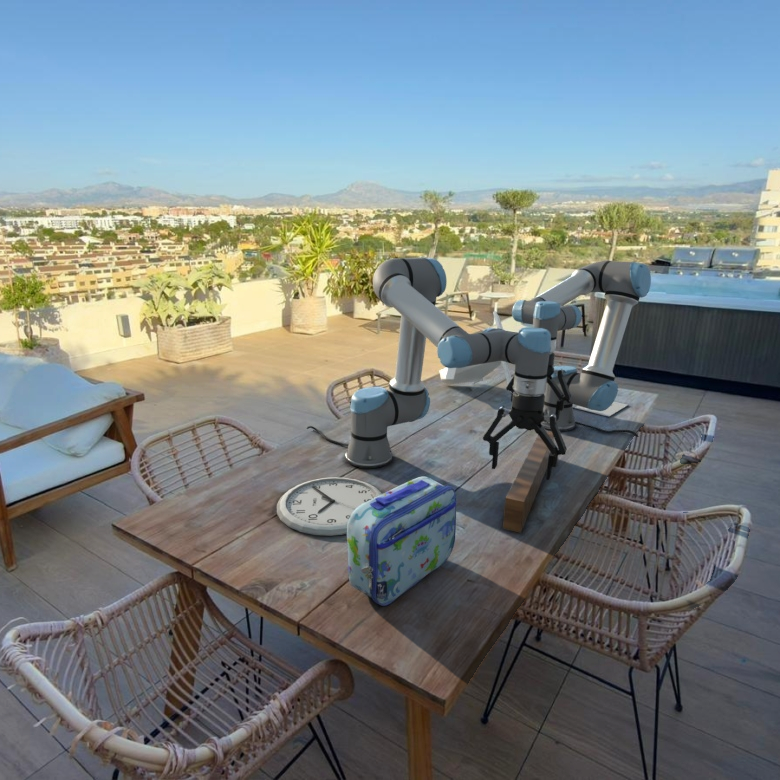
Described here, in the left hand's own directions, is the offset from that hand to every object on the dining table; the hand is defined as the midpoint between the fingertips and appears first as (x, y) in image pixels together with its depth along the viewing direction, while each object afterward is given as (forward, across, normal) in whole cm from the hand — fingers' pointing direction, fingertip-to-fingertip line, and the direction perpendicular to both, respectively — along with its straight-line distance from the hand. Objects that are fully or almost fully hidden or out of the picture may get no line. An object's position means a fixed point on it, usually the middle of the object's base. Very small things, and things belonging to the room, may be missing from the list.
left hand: (520, 472), depth 132 cm
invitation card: (+14, +14, +110) cm, 111 cm away
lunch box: (+14, -17, -34) cm, 41 cm away
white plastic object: (+14, -39, +105) cm, 113 cm away
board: (+14, 0, +20) cm, 25 cm away
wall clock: (+14, -47, -14) cm, 51 cm away
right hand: (-1, -4, +42) cm, 42 cm away
